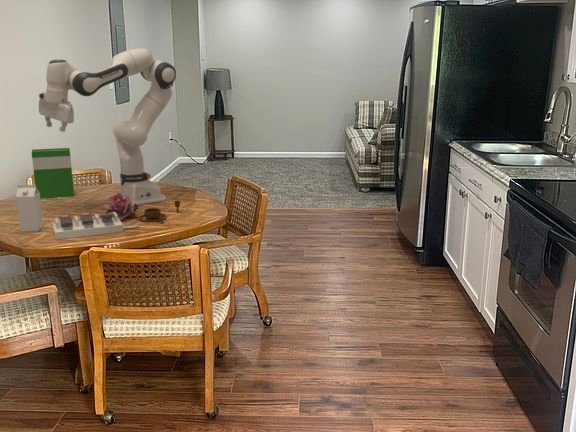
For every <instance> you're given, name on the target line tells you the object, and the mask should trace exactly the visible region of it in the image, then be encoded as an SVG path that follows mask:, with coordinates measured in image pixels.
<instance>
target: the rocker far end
mask: <svg viewBox="0 0 576 432" xmlns="http://www.w3.org/2000/svg"><path fill="white" fill-rule="evenodd" d="M73 222H74V221H73V218H72V215H71V214H64V215H63V214H62V215H59V223H61V226H70V225H73Z"/></svg>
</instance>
